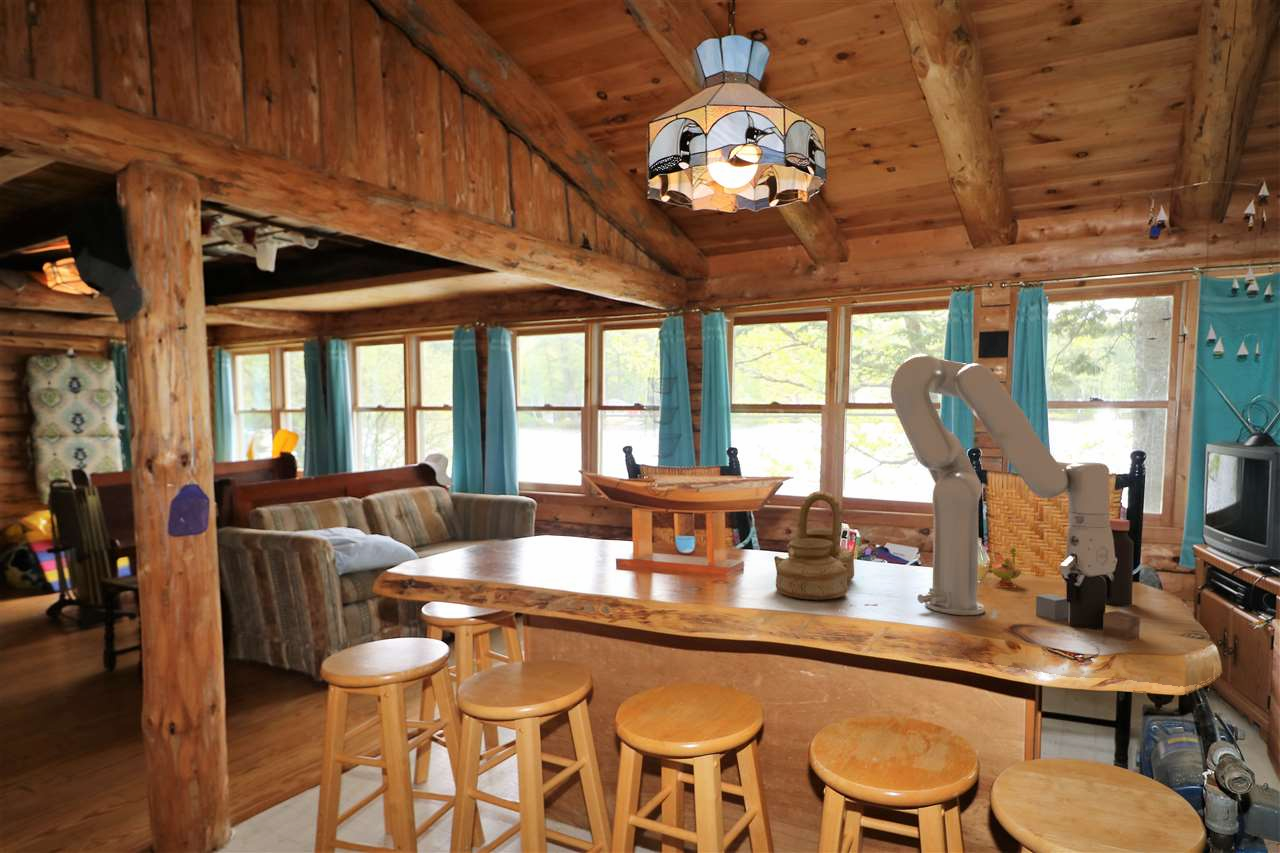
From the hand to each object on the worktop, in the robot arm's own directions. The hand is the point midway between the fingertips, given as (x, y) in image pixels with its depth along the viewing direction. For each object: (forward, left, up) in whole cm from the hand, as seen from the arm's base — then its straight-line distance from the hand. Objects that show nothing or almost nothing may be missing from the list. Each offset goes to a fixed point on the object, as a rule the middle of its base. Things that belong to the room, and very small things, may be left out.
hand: (1089, 600), depth 153 cm
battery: (0, +1, -6) cm, 6 cm away
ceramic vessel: (-32, +51, -6) cm, 61 cm away
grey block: (0, +8, -6) cm, 10 cm away
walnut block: (0, -7, -6) cm, 9 cm away
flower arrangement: (+17, +34, -6) cm, 38 cm away
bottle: (+25, +10, -6) cm, 27 cm away
